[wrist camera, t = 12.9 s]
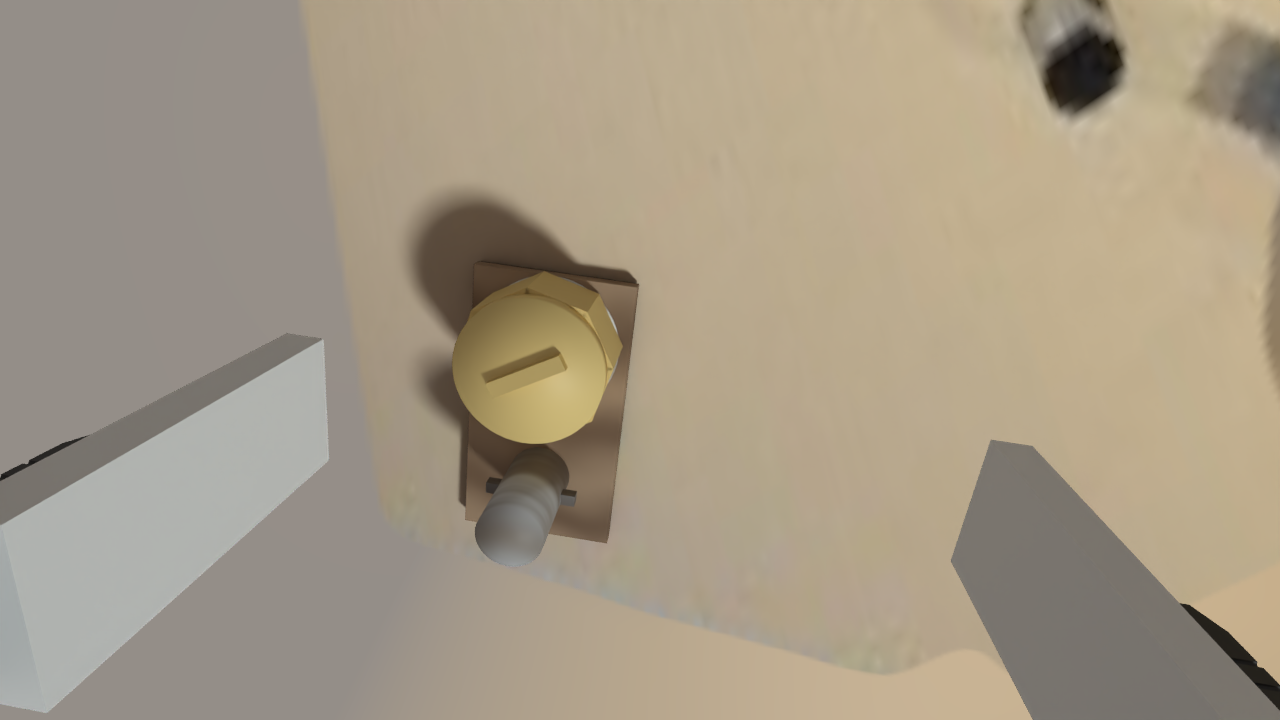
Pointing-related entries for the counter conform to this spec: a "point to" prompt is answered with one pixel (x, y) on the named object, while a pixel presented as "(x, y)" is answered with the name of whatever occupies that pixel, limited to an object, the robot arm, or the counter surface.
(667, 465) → the counter surface
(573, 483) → the post board
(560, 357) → the cap
